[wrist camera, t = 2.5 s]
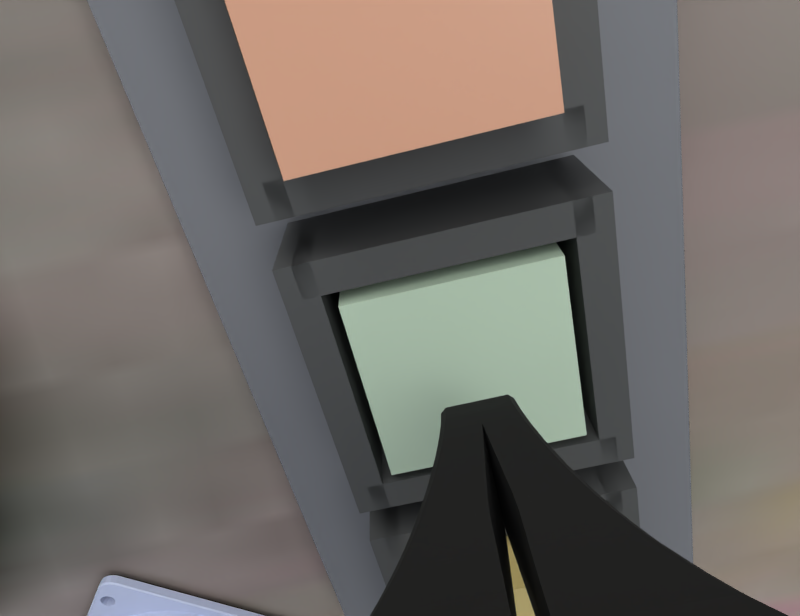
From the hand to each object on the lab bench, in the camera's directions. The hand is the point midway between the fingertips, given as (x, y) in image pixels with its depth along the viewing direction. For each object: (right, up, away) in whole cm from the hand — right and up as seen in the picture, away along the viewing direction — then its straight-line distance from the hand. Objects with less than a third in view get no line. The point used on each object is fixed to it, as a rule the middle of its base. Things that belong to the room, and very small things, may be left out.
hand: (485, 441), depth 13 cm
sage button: (0, +2, +4) cm, 5 cm away
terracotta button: (-2, +8, -1) cm, 9 cm away
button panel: (0, +3, +6) cm, 7 cm away
